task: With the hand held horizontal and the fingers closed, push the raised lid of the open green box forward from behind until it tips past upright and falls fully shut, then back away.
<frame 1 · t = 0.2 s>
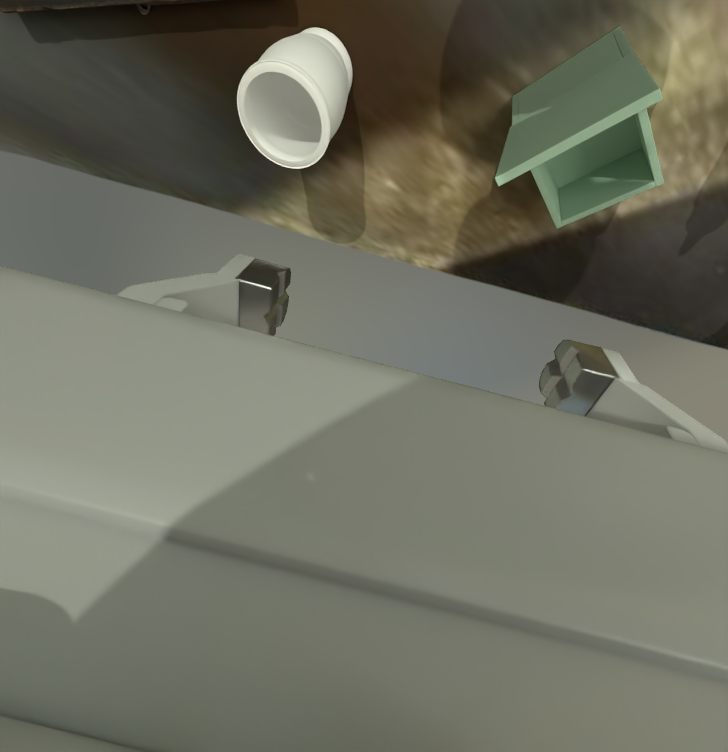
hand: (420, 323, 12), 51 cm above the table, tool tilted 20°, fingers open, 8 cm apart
green box lid: (568, 116, 36), point 17 cm above the table, hinge at 100.0°
open green box: (581, 121, 50), on the table
jar: (322, 68, 52), on the table
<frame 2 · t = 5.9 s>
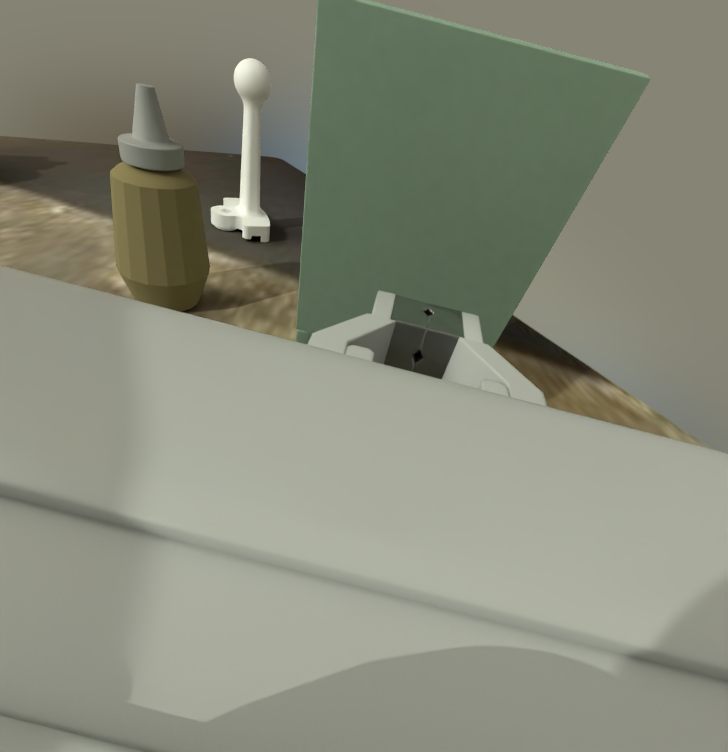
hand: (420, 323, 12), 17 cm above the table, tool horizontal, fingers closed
green box lid: (422, 236, 19), point 17 cm above the table, hinge at 100.0°
squeeze bottle: (168, 301, 41), on the table
joystick: (238, 227, 59), on the table
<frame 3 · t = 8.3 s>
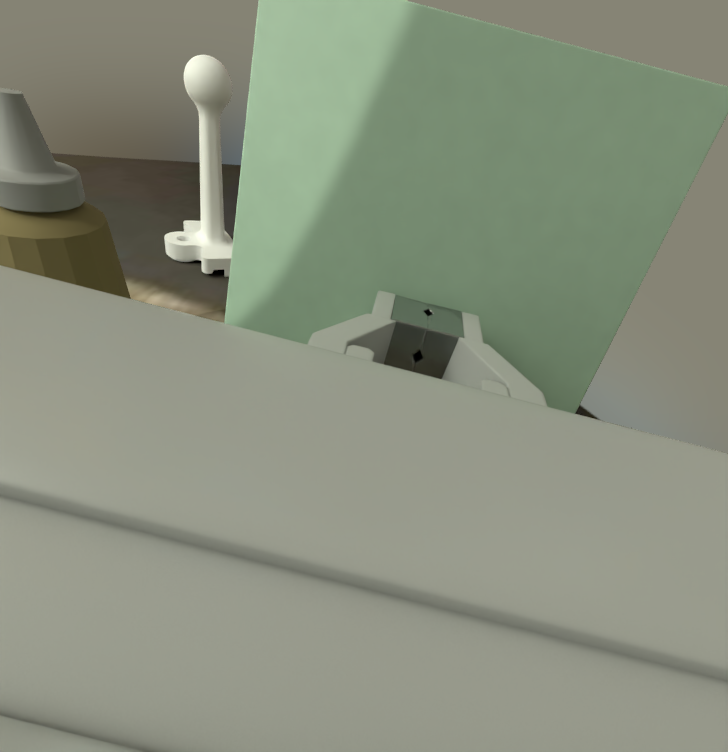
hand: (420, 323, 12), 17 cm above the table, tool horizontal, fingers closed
green box lid: (410, 329, 13), point 17 cm above the table, hinge at 74.7°, touching gripper
squeeze bottle: (87, 369, 31), on the table
joystick: (200, 257, 49), on the table
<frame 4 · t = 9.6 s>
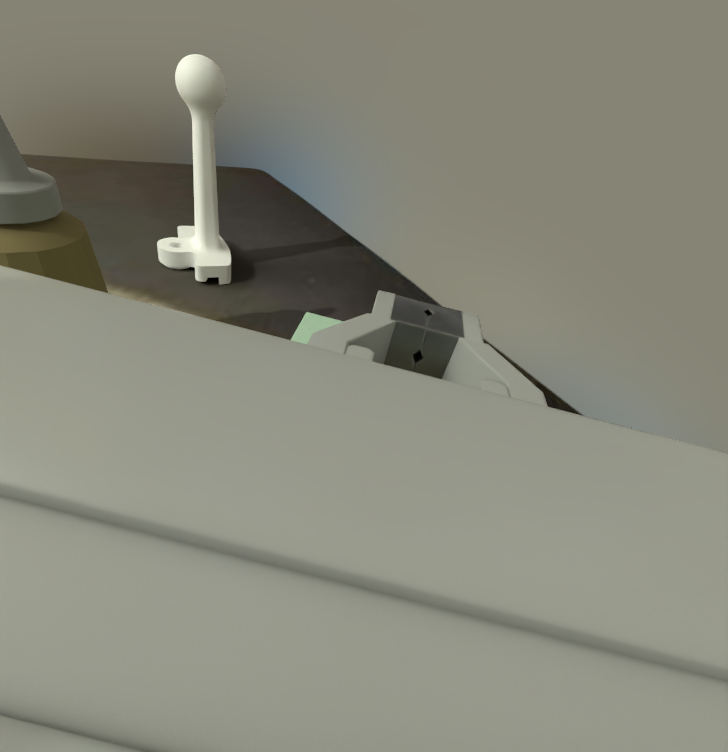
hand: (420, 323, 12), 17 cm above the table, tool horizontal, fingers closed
green box lid: (377, 419, 20), point 9 cm above the table, hinge at -0.1°
squeeze bottle: (70, 387, 30), on the table
joystick: (194, 264, 48), on the table
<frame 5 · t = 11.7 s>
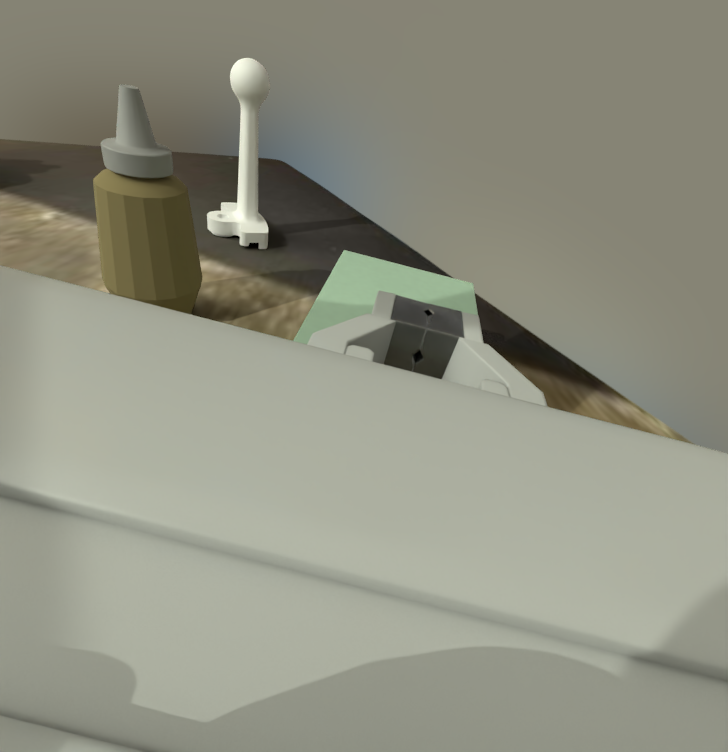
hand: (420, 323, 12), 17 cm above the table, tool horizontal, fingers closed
green box lid: (400, 311, 29), point 9 cm above the table, hinge at -0.1°
squeeze bottle: (159, 313, 39), on the table
joystick: (236, 233, 57), on the table
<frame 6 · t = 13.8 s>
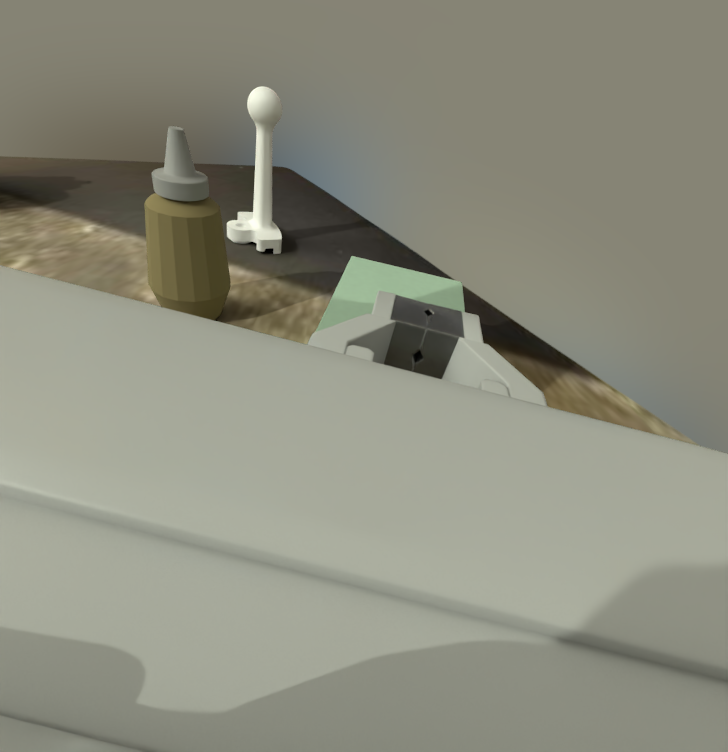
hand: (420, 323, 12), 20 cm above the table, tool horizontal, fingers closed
green box lid: (399, 307, 35), point 9 cm above the table, hinge at -0.1°
squeeze bottle: (194, 313, 45), on the table
joystick: (252, 240, 63), on the table
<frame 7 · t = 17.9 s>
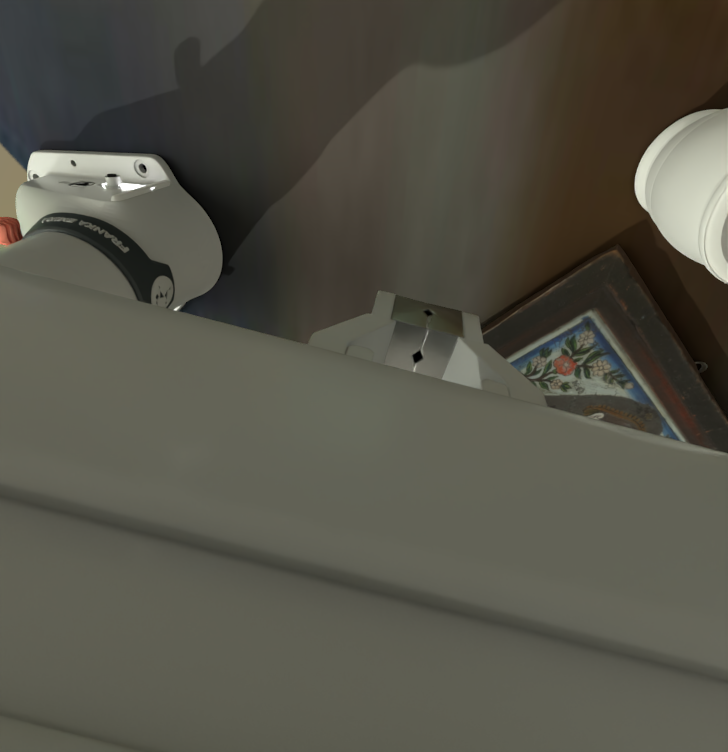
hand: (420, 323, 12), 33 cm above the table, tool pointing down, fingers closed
jar: (685, 165, 36), on the table
religious icon: (526, 439, 58), on the table
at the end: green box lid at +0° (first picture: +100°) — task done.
